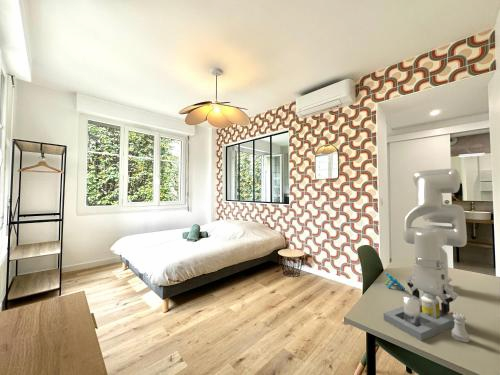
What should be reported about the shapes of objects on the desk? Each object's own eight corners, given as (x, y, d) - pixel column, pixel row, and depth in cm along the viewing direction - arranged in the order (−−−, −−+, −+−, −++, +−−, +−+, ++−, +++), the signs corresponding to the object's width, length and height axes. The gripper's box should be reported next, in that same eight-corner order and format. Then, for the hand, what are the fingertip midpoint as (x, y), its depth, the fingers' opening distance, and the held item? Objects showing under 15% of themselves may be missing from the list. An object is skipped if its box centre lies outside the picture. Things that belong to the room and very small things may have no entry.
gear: (409, 290, 101) (391, 274, 104) (400, 299, 102) (383, 282, 104) (399, 283, 112) (383, 269, 115) (391, 291, 112) (375, 276, 115)
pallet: (422, 305, 91) (422, 299, 91) (461, 322, 79) (461, 315, 79) (383, 319, 82) (383, 312, 82) (421, 341, 70) (420, 332, 70)
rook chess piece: (447, 334, 72) (446, 311, 73) (459, 333, 73) (457, 310, 73) (461, 343, 68) (460, 318, 68) (474, 342, 68) (472, 317, 69)
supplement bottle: (435, 314, 84) (434, 289, 84) (443, 322, 79) (441, 296, 79) (419, 312, 86) (418, 288, 86) (426, 320, 81) (424, 294, 81)
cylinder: (409, 319, 81) (408, 293, 82) (424, 327, 77) (422, 299, 77) (401, 322, 80) (399, 296, 80) (415, 330, 75) (414, 302, 75)
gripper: (461, 268, 76) (464, 315, 76) (410, 255, 92) (412, 294, 92) (449, 271, 73) (452, 321, 73) (398, 258, 89) (400, 298, 89)
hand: (430, 306), depth 82 cm, fingers open, 9 cm apart
